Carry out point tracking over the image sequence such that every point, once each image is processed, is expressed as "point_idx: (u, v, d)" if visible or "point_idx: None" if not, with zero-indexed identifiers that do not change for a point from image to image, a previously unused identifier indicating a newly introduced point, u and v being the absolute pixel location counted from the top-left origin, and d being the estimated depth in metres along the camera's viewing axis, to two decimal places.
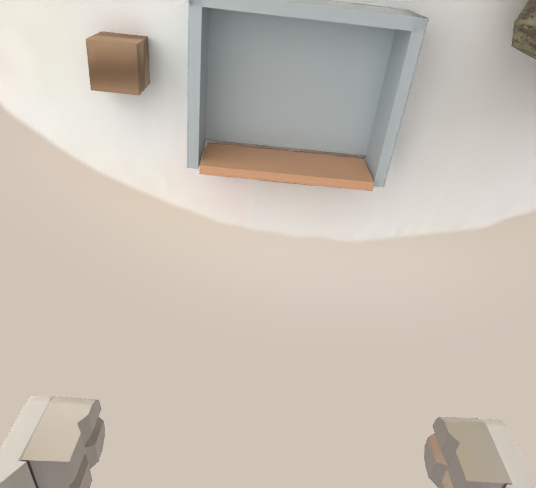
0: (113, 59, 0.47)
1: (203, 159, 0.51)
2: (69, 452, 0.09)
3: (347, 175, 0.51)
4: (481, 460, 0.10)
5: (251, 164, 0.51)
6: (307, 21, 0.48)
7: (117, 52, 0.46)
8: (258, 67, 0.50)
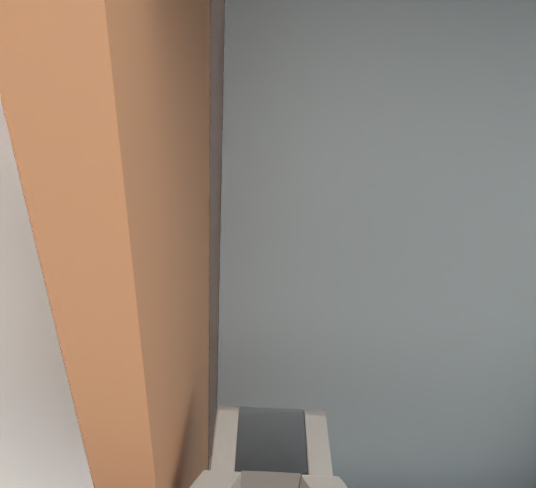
0: None
1: None
2: (277, 462, 0.09)
3: None
4: (285, 450, 0.10)
5: (171, 333, 0.08)
6: None
7: None
8: None
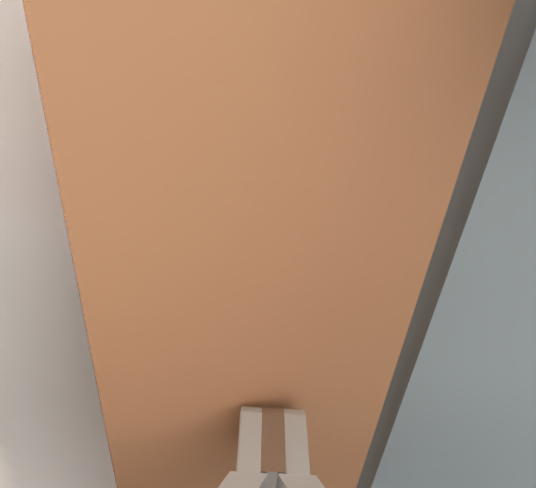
0: None
1: None
2: (303, 463, 0.09)
3: None
4: (263, 449, 0.10)
5: (174, 295, 0.09)
6: None
7: None
8: None
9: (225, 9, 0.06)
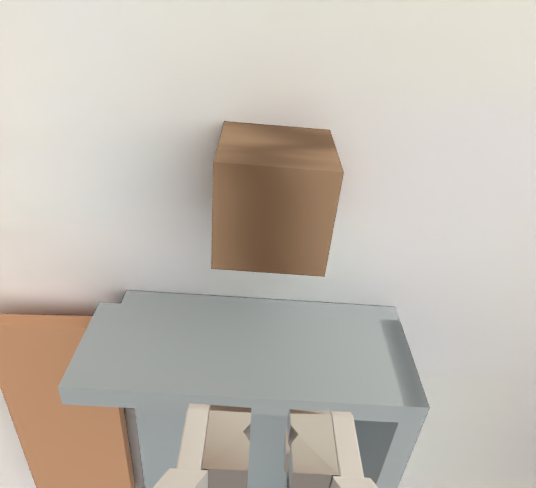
0: (294, 227, 0.19)
1: (10, 328, 0.26)
2: (245, 461, 0.09)
3: (52, 485, 0.35)
4: (315, 452, 0.10)
5: (28, 390, 0.29)
6: None
7: (308, 236, 0.19)
8: None
9: (26, 334, 0.26)
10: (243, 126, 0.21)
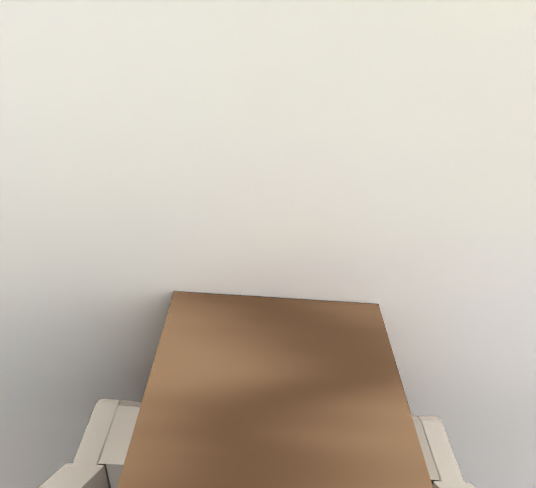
0: None
1: None
2: None
3: None
4: None
5: None
6: None
7: None
8: None
9: None
10: (208, 310, 0.11)
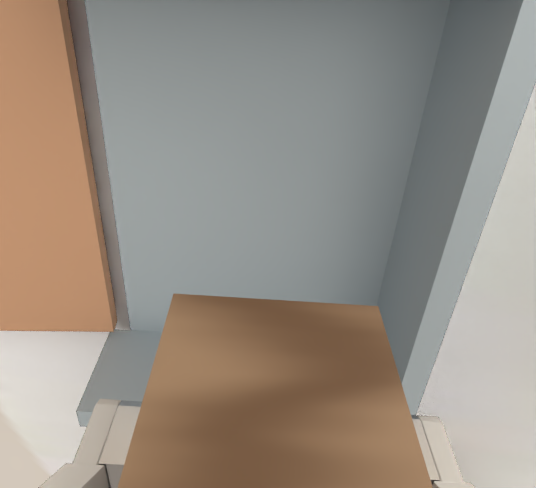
0: None
1: None
2: None
3: (2, 294, 0.26)
4: None
5: None
6: (382, 209, 0.24)
7: None
8: (292, 114, 0.21)
9: None
10: (207, 312, 0.11)
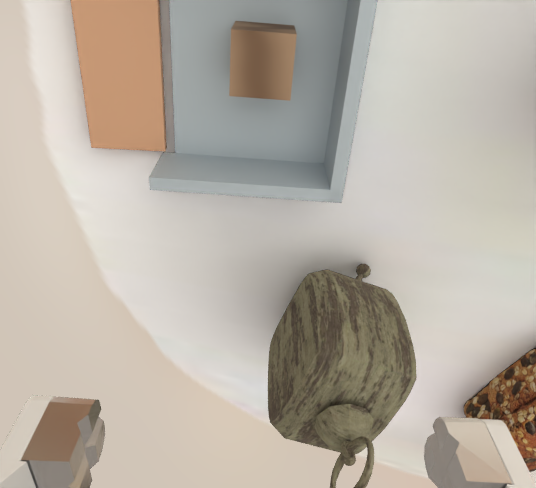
0: (272, 68, 0.36)
1: None
2: (69, 452, 0.09)
3: (100, 119, 0.43)
4: (481, 460, 0.10)
5: None
6: (328, 64, 0.41)
7: (280, 74, 0.36)
8: (275, 1, 0.38)
9: None
10: (245, 22, 0.38)
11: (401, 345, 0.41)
